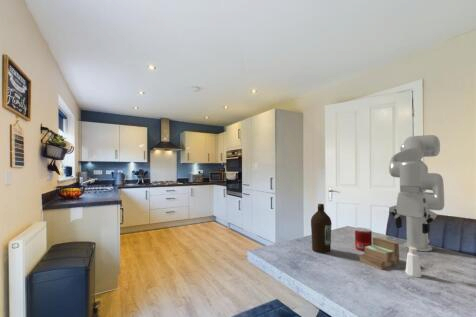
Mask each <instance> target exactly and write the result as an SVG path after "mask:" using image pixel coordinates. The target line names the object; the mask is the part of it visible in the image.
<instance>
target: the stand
mask: <svg viewBox="0 0 476 317" xmlns="http://www.w3.org/2000/svg"><path fill="white" fill-rule="evenodd" d="M399 246H400V243H399V242H397V241H394V240H389V239H387V238H382V237H379V236H376V237H372V245H371V246H367V247H365V252H364V253H363V254H359V262H360V263H363V264H366V265H368V266H370V267H374V268H376V269H378V270H381V271H382V270H385V269H387V268H389V267H392V266H395V265H397V264H399V263H400V247H399Z"/></svg>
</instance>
